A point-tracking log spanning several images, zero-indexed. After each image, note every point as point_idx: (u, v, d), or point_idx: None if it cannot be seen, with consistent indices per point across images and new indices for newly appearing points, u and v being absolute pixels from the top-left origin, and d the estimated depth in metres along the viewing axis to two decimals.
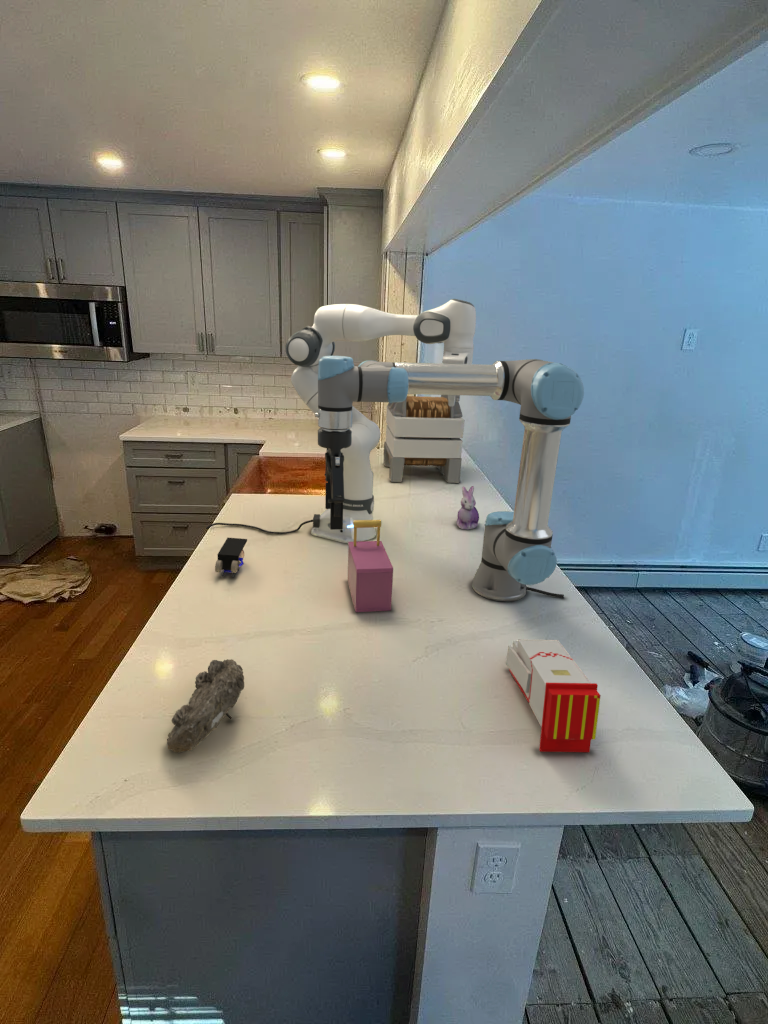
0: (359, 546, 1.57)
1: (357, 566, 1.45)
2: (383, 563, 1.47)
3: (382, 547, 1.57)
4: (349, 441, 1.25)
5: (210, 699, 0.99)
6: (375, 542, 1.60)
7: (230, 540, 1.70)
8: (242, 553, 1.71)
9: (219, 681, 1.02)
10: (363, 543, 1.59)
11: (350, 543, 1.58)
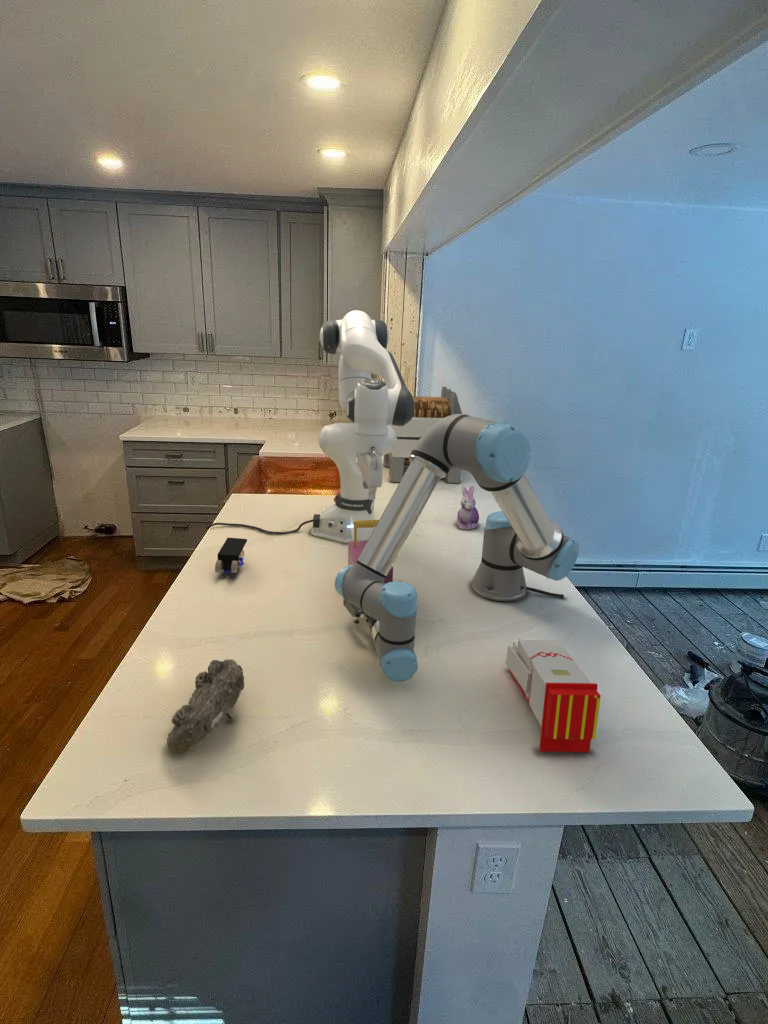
0: (359, 546, 1.57)
1: None
2: None
3: None
4: None
5: (210, 699, 0.99)
6: None
7: (230, 540, 1.70)
8: (242, 553, 1.71)
9: (219, 681, 1.02)
10: (363, 543, 1.59)
11: (350, 543, 1.58)
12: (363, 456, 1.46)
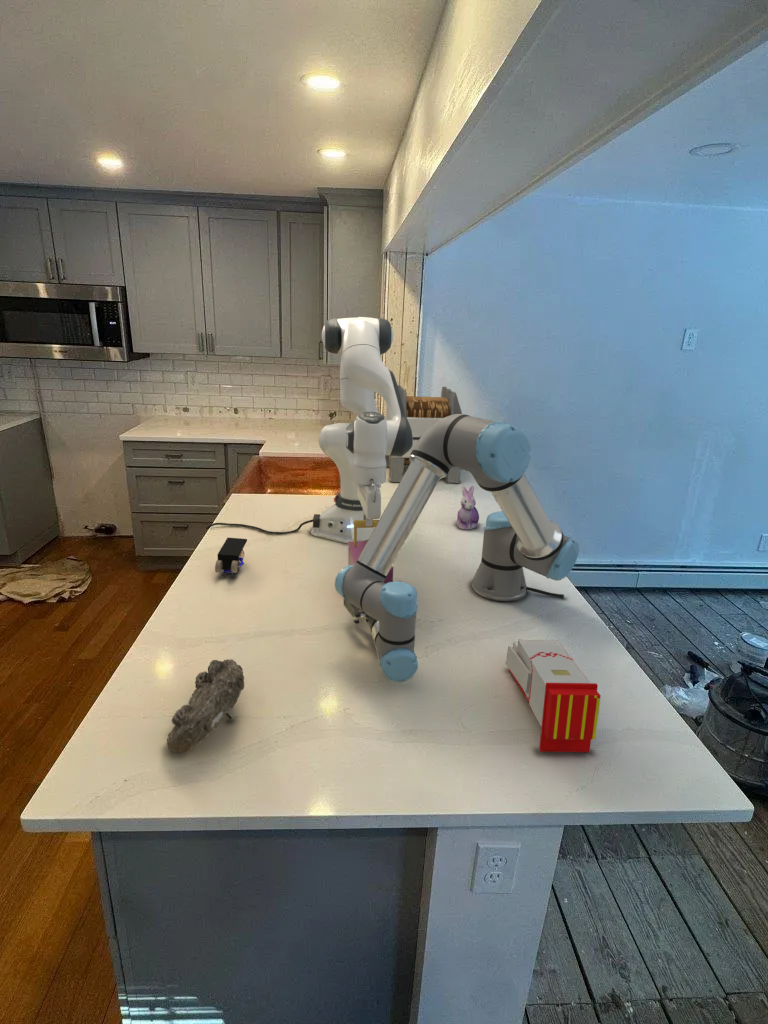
0: (359, 546, 1.57)
1: None
2: None
3: None
4: None
5: (210, 699, 0.99)
6: None
7: (230, 540, 1.70)
8: (242, 553, 1.71)
9: (219, 681, 1.02)
10: (364, 543, 1.59)
11: (350, 544, 1.58)
12: (362, 487, 1.49)
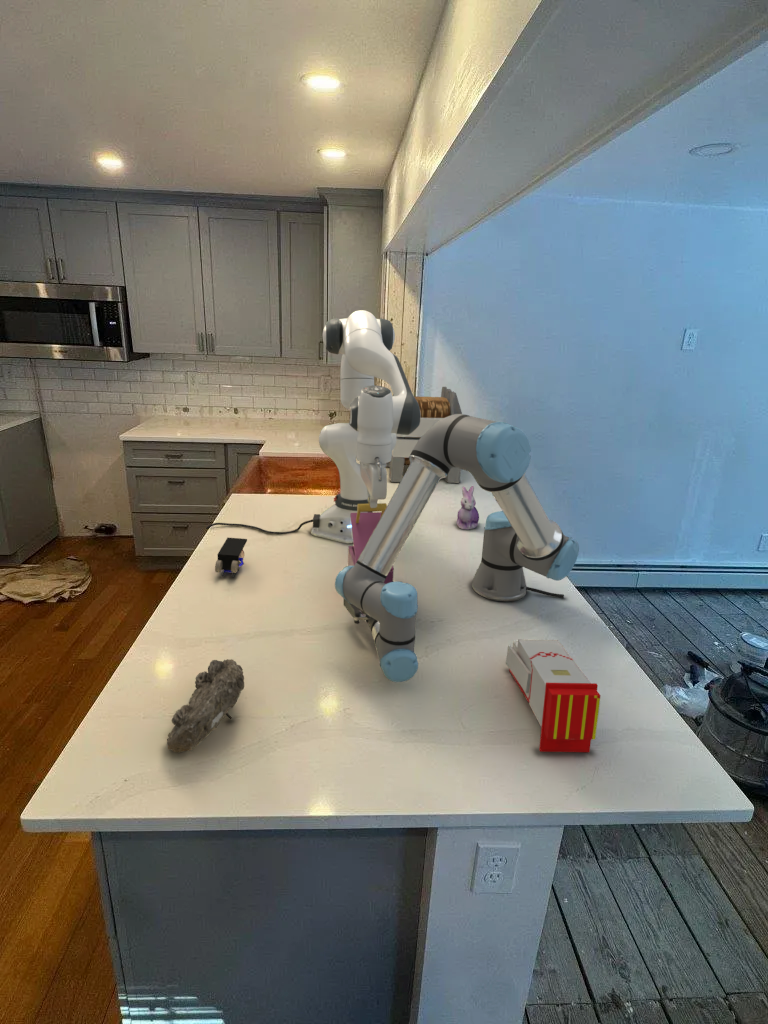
0: (361, 523, 1.52)
1: None
2: None
3: None
4: None
5: (210, 699, 0.99)
6: (378, 515, 1.54)
7: (230, 540, 1.70)
8: (242, 553, 1.71)
9: (219, 681, 1.02)
10: (366, 517, 1.53)
11: (352, 517, 1.52)
12: (366, 466, 1.40)
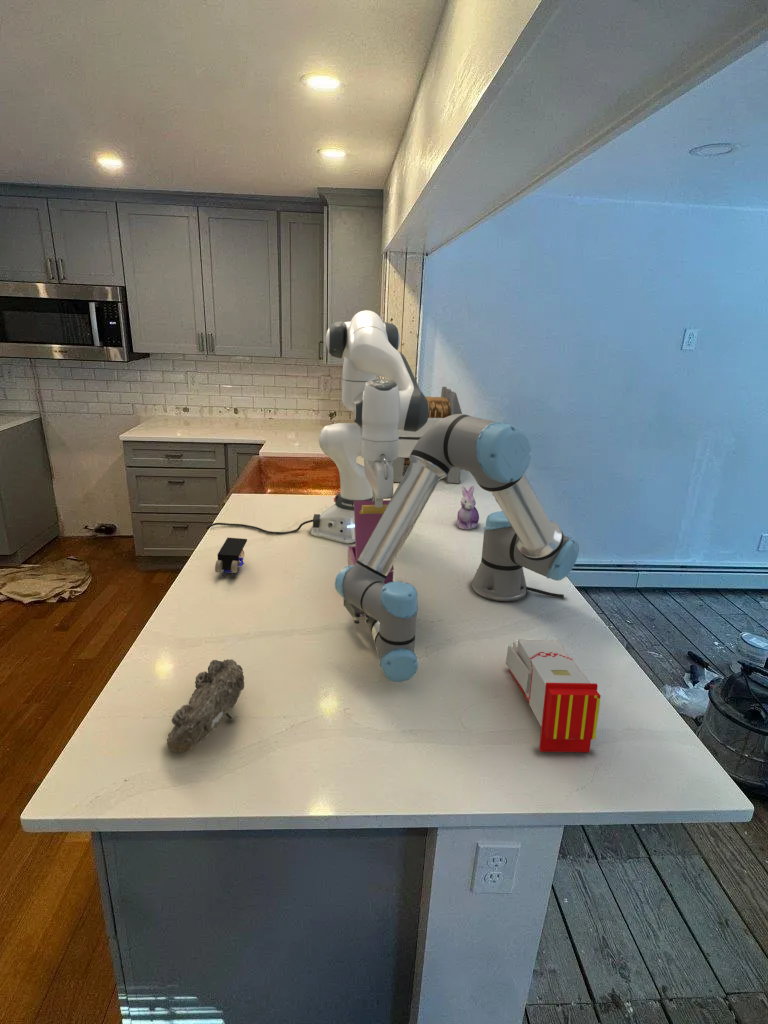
0: (365, 514, 1.45)
1: None
2: None
3: None
4: None
5: (210, 699, 0.99)
6: (383, 504, 1.46)
7: (230, 540, 1.70)
8: (242, 553, 1.71)
9: (219, 681, 1.02)
10: None
11: (356, 507, 1.45)
12: (372, 464, 1.33)
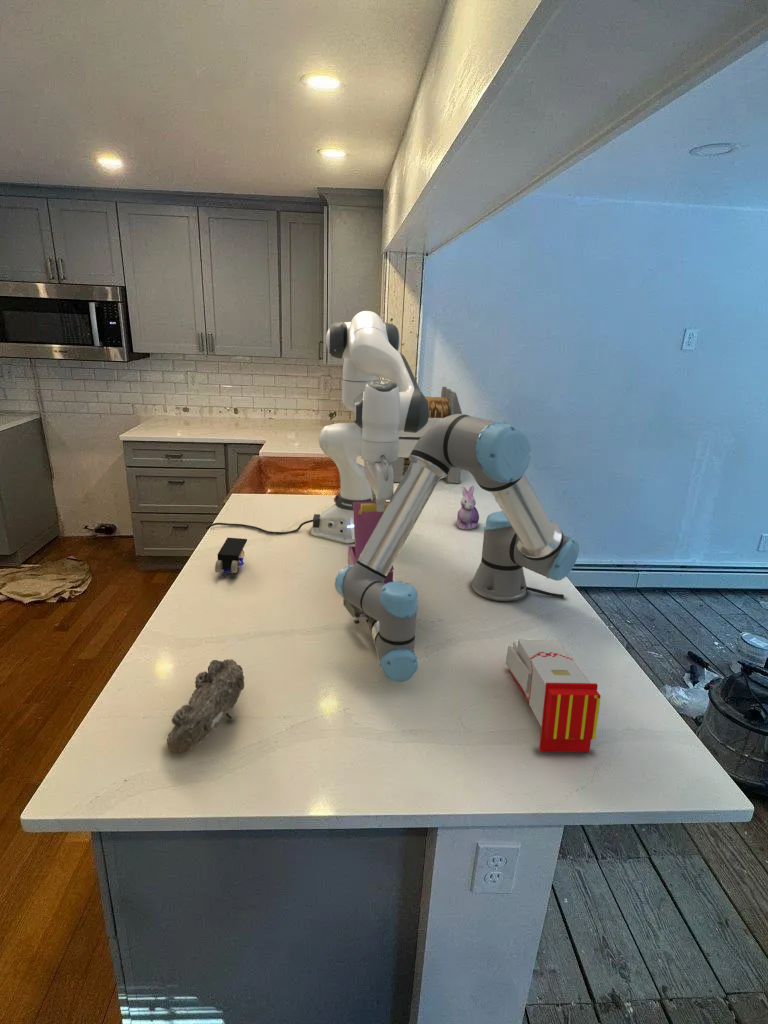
0: (364, 515, 1.47)
1: None
2: None
3: None
4: None
5: (210, 699, 0.99)
6: None
7: (230, 540, 1.70)
8: (242, 553, 1.71)
9: (219, 681, 1.02)
10: None
11: (355, 508, 1.47)
12: (372, 465, 1.32)
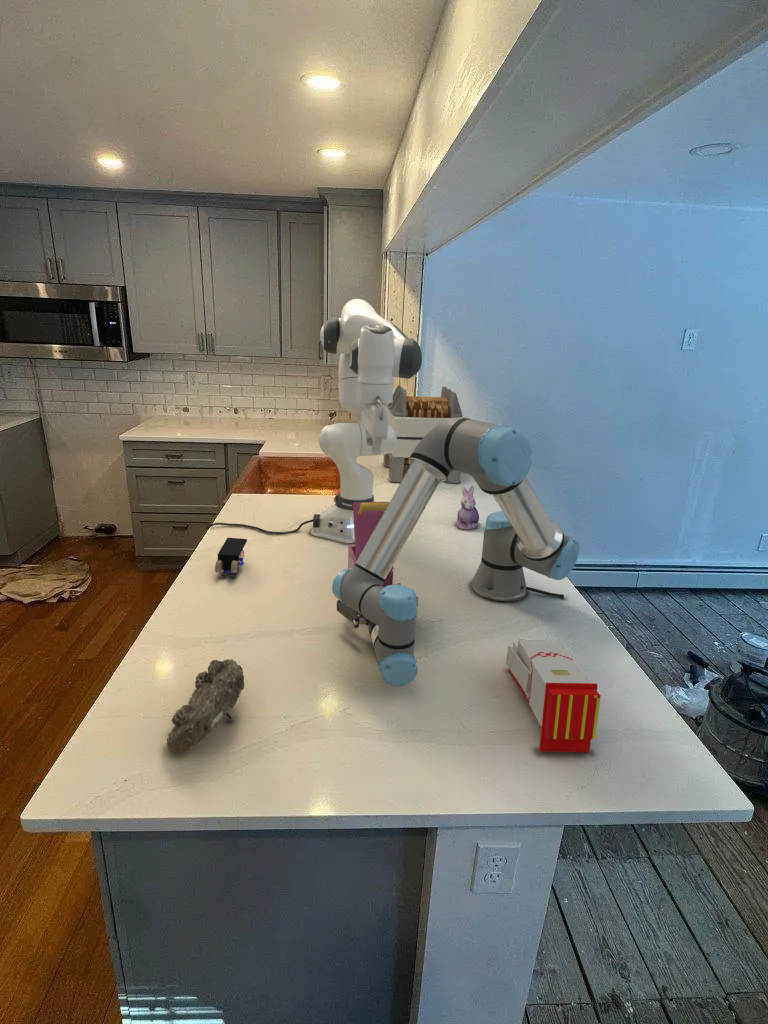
0: (364, 515, 1.47)
1: None
2: None
3: None
4: None
5: (210, 699, 0.99)
6: None
7: (230, 540, 1.70)
8: (242, 553, 1.71)
9: (219, 681, 1.02)
10: None
11: (355, 508, 1.47)
12: (367, 408, 1.37)
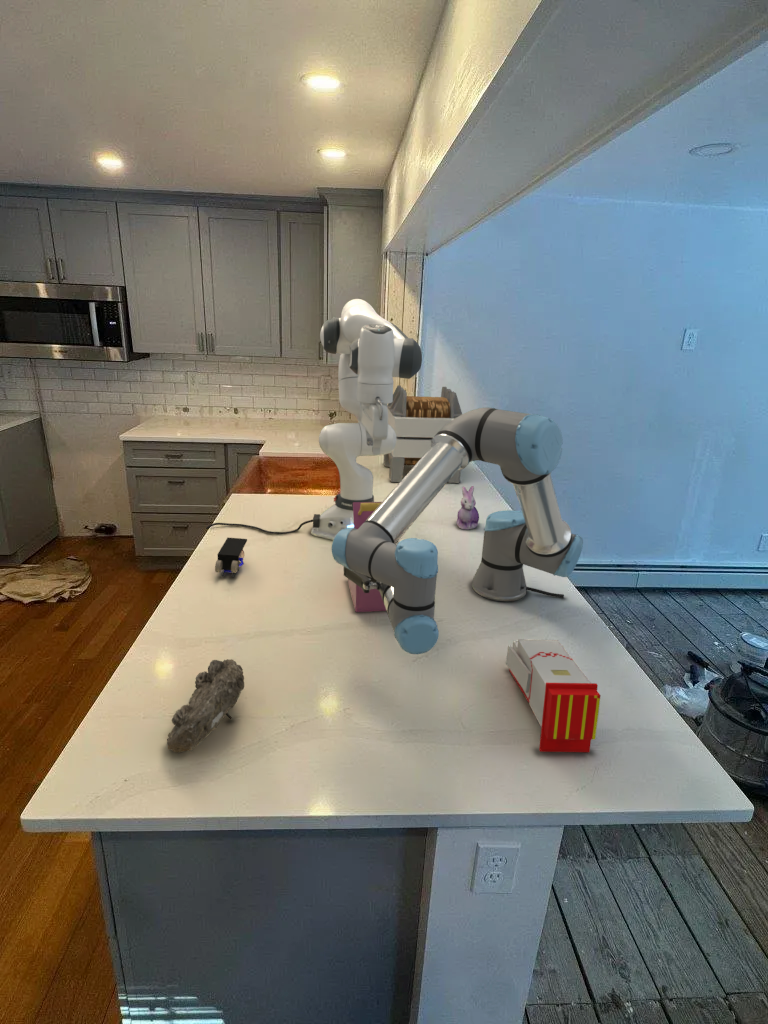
0: (364, 515, 1.47)
1: None
2: None
3: None
4: None
5: (210, 699, 0.99)
6: None
7: (230, 540, 1.70)
8: (242, 553, 1.71)
9: (219, 681, 1.02)
10: None
11: (355, 508, 1.47)
12: (367, 408, 1.37)
